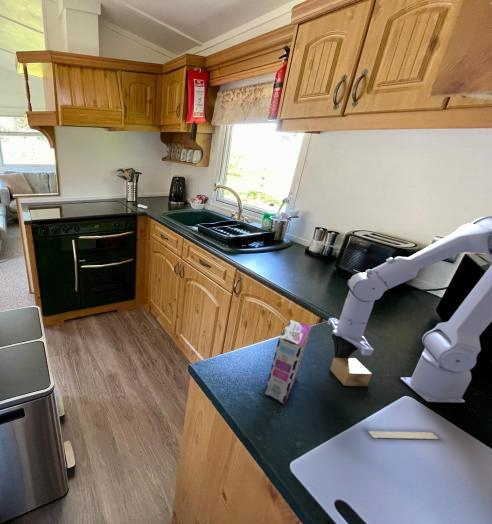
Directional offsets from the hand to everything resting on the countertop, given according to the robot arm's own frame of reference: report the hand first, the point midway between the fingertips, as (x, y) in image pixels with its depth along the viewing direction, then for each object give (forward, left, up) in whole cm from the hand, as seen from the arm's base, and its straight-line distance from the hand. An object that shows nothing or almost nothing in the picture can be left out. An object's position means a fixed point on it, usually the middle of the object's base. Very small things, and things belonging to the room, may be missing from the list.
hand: (339, 360), depth 80 cm
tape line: (0, +21, -2) cm, 21 cm away
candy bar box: (+20, +8, -2) cm, 22 cm away
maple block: (0, +4, -2) cm, 5 cm away
